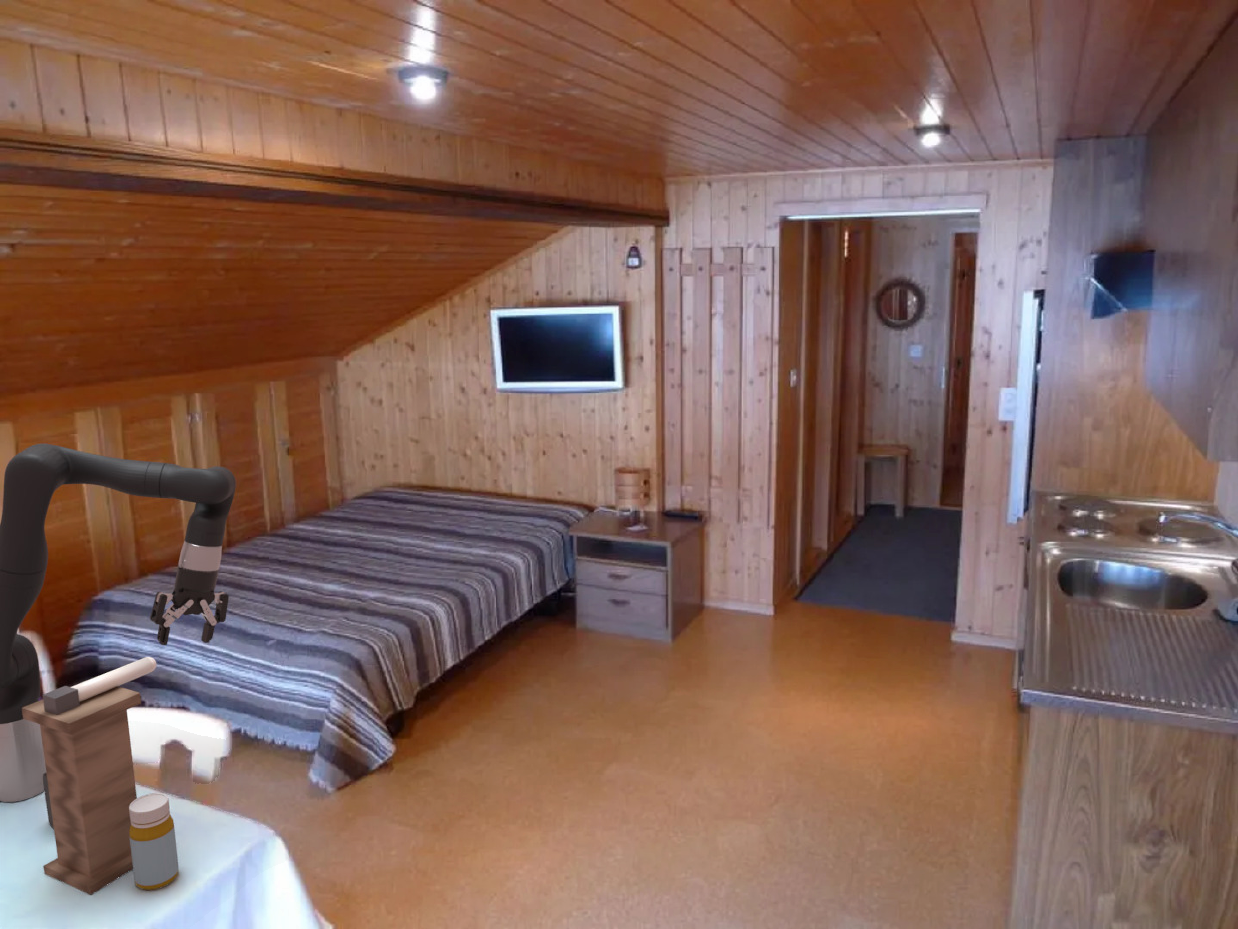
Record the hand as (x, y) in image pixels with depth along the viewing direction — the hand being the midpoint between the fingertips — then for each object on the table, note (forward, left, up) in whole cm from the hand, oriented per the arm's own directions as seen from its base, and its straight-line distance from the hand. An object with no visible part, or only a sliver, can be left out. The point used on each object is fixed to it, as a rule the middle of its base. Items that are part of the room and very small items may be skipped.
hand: (184, 643), depth 185 cm
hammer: (+5, -20, -1) cm, 21 cm away
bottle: (+18, -23, -33) cm, 44 cm away
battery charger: (-12, -21, -33) cm, 41 cm away
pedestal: (+5, -25, -33) cm, 41 cm away
